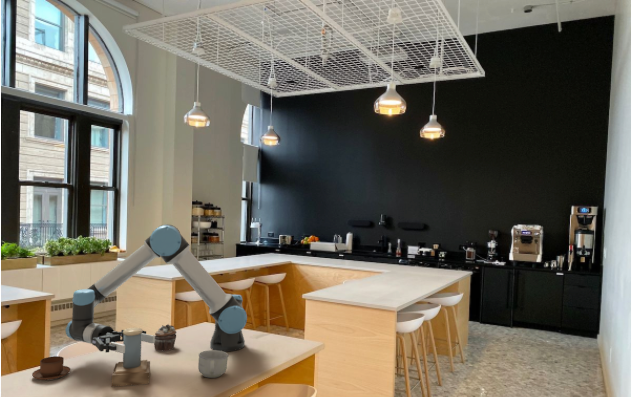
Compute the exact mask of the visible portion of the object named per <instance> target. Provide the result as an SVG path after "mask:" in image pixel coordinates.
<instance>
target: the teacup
mask: <svg viewBox="0 0 632 397" xmlns="http://www.w3.org/2000/svg"><path fill="white" fill-rule="evenodd" d="M228 360H229V353H227V351H217V350H214V349H212V350H211V349H210V350H209V349H208V350H204V351H200V352H199V353H198V366H197V368H198V372H199V373H200V374H201V375H202V376H203V377H205V378H210V379H214V378H219V377H221V376H222V375H223V374H225V372H226V370H227V367H228Z"/></svg>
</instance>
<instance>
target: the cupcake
mask: <svg viewBox="0 0 632 397" xmlns="http://www.w3.org/2000/svg"><path fill="white" fill-rule="evenodd" d="M154 333H155V334H154V336H155V343H153V344H154V346H153V347H154V350H155V351H158V352H167V351H171V350H173V349H174V348H175V342H176V338H177V331H176V329H175V326H174V325H170V324H169V323H168V324H166V325H161V326H160V328H159V327H158V330H157V331H156V332H154Z"/></svg>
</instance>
